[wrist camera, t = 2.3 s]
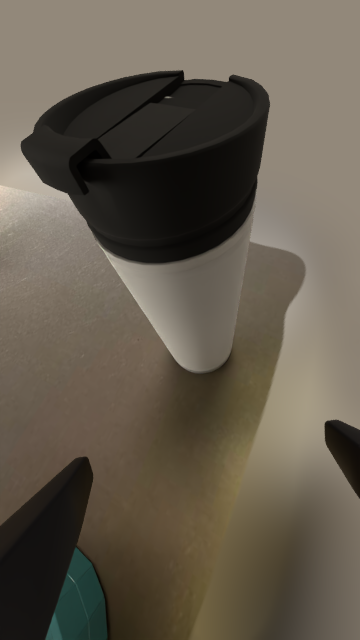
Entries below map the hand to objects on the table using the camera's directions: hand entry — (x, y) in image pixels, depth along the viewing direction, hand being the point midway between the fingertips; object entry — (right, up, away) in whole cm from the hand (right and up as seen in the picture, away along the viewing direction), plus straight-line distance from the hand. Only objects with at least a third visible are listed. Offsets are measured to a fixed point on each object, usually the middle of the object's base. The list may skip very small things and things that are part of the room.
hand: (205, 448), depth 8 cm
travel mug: (+1, +2, +15) cm, 15 cm away
